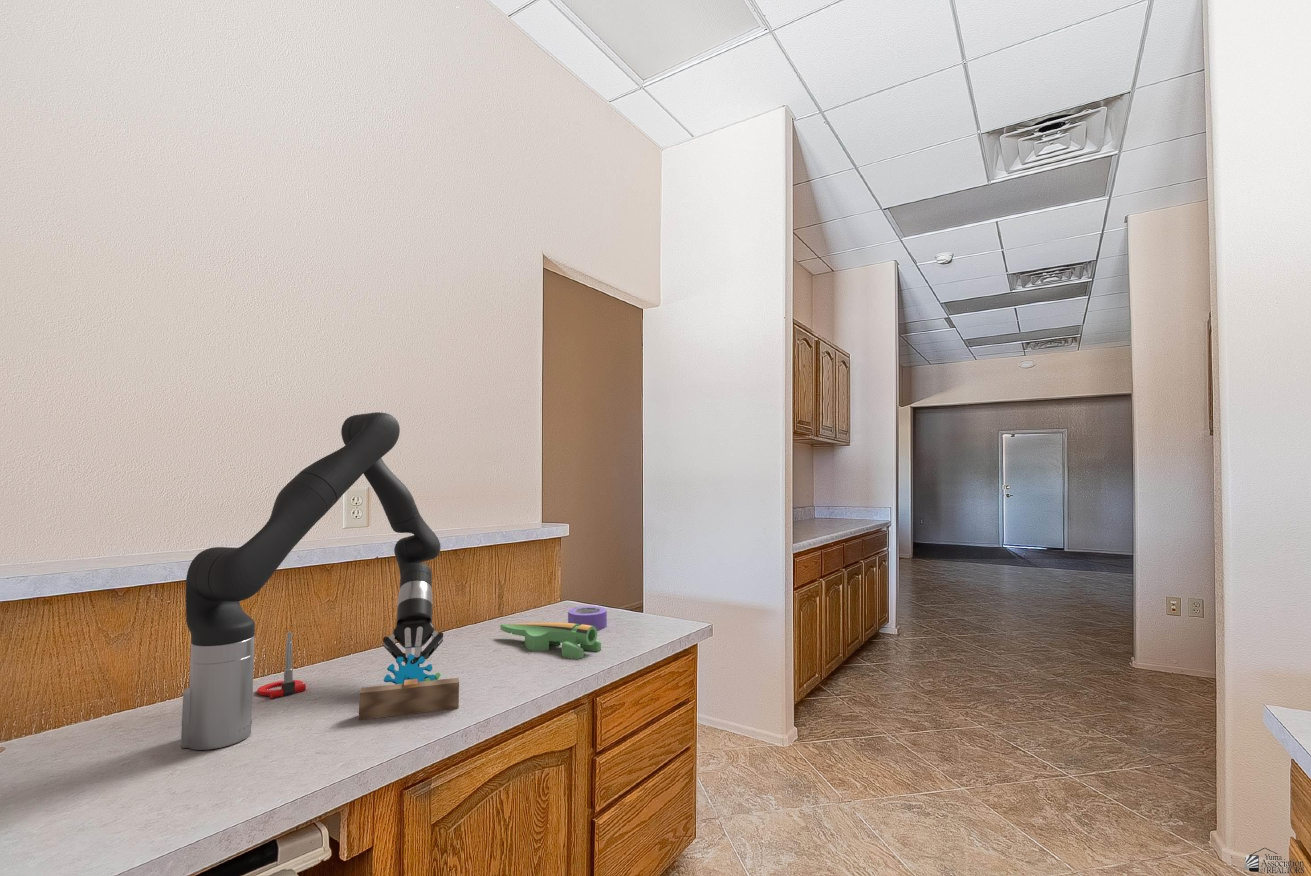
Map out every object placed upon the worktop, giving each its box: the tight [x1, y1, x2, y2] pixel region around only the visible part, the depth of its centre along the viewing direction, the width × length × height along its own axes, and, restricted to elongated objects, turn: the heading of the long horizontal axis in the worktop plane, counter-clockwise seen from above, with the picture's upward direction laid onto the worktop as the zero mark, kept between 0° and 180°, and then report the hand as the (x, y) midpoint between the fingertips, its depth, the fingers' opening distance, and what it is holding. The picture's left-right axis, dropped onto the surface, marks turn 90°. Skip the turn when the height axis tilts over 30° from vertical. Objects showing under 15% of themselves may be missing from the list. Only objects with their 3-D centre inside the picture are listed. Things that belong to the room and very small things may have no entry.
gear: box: [383, 653, 441, 684], centre depth 129 cm, size 11×6×10 cm
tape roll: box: [567, 605, 608, 631], centre depth 188 cm, size 12×12×5 cm
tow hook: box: [256, 631, 307, 699], centre depth 133 cm, size 8×13×9 cm
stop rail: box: [358, 677, 460, 721], centre depth 121 cm, size 18×3×6 cm, turn 109°
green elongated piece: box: [499, 622, 602, 660], centre depth 167 cm, size 32×10×7 cm, turn 59°
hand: (412, 677), depth 130 cm, fingers closed
